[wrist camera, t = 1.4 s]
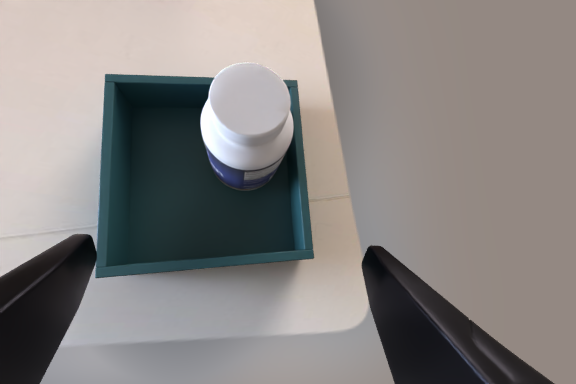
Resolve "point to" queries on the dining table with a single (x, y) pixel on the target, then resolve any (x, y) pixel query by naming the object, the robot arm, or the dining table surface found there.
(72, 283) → the robot arm
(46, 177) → the dining table surface
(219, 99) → the pill bottle
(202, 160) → the bin
